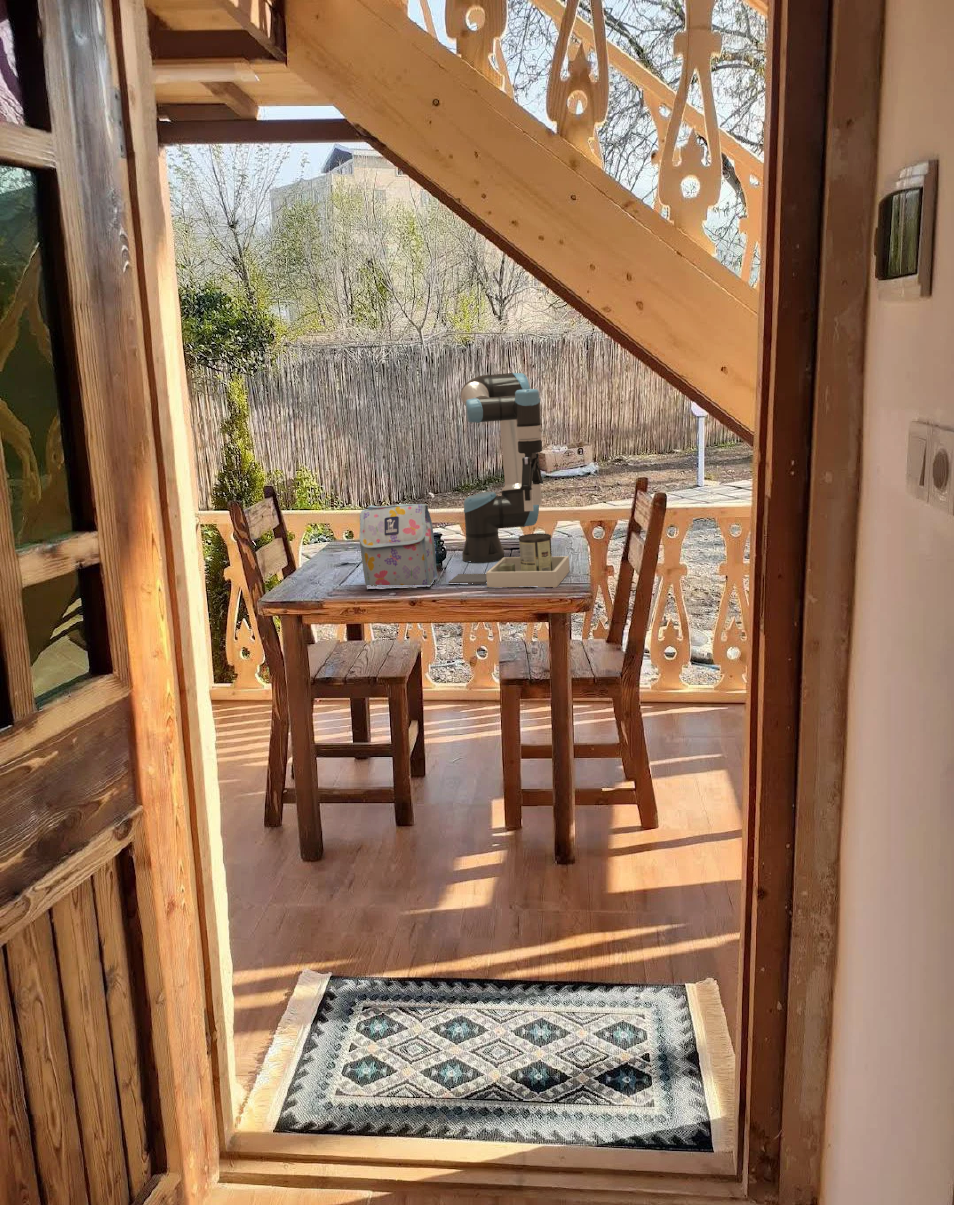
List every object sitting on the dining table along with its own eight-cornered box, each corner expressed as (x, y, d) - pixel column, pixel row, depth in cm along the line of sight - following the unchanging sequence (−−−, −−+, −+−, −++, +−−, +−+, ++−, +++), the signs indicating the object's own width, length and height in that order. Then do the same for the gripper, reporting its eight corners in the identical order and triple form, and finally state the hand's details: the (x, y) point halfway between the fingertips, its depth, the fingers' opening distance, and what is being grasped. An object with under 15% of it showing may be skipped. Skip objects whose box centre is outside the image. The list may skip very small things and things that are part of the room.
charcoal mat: (448, 584, 332) (448, 581, 331) (458, 576, 343) (458, 573, 343) (484, 584, 328) (484, 581, 328) (493, 576, 340) (493, 573, 340)
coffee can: (530, 575, 338) (527, 532, 335) (558, 576, 333) (556, 533, 330) (515, 582, 329) (512, 538, 326) (544, 583, 324) (541, 539, 321)
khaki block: (500, 581, 332) (499, 566, 331) (503, 578, 336) (502, 563, 335) (512, 581, 331) (512, 565, 330) (515, 578, 335) (514, 563, 334)
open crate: (487, 588, 323) (486, 572, 322) (504, 571, 346) (503, 557, 345) (556, 587, 318) (555, 571, 316) (569, 571, 340) (568, 556, 339)
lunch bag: (360, 593, 328) (352, 510, 322) (372, 581, 345) (365, 502, 338) (429, 591, 325) (423, 507, 319) (439, 579, 341) (433, 499, 335)
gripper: (533, 442, 308) (537, 513, 313) (548, 435, 332) (552, 501, 336) (508, 443, 310) (513, 514, 315) (526, 437, 334) (529, 502, 338)
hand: (533, 507), depth 326 cm, fingers open, 13 cm apart
